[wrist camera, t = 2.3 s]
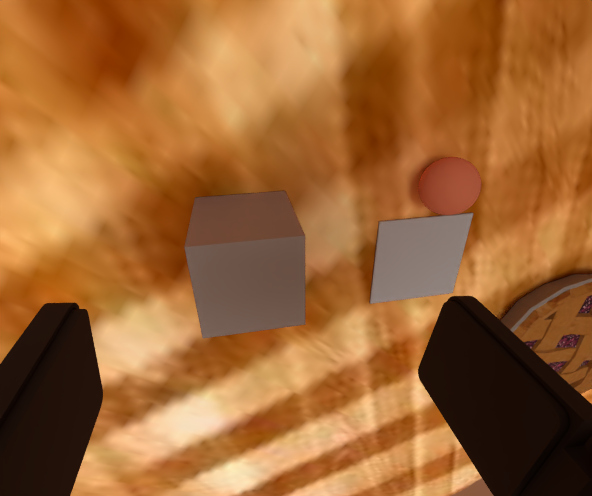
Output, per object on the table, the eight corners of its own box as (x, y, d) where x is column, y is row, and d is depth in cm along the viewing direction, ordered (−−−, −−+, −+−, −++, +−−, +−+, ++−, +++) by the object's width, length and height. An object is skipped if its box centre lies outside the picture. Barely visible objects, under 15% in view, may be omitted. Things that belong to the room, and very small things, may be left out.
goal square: (472, 212, 35) (473, 213, 35) (451, 292, 40) (452, 292, 39) (378, 221, 33) (379, 222, 33) (369, 302, 38) (370, 303, 38)
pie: (653, 247, 43) (702, 268, 38) (592, 367, 54) (624, 395, 49) (494, 276, 40) (526, 303, 36) (463, 396, 51) (485, 427, 47)
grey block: (284, 190, 30) (305, 235, 22) (287, 264, 34) (305, 324, 26) (195, 197, 29) (184, 247, 21) (208, 273, 33) (202, 338, 25)
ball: (464, 149, 31) (502, 164, 27) (452, 200, 34) (485, 221, 29) (413, 152, 30) (443, 168, 26) (405, 204, 33) (432, 227, 29)
